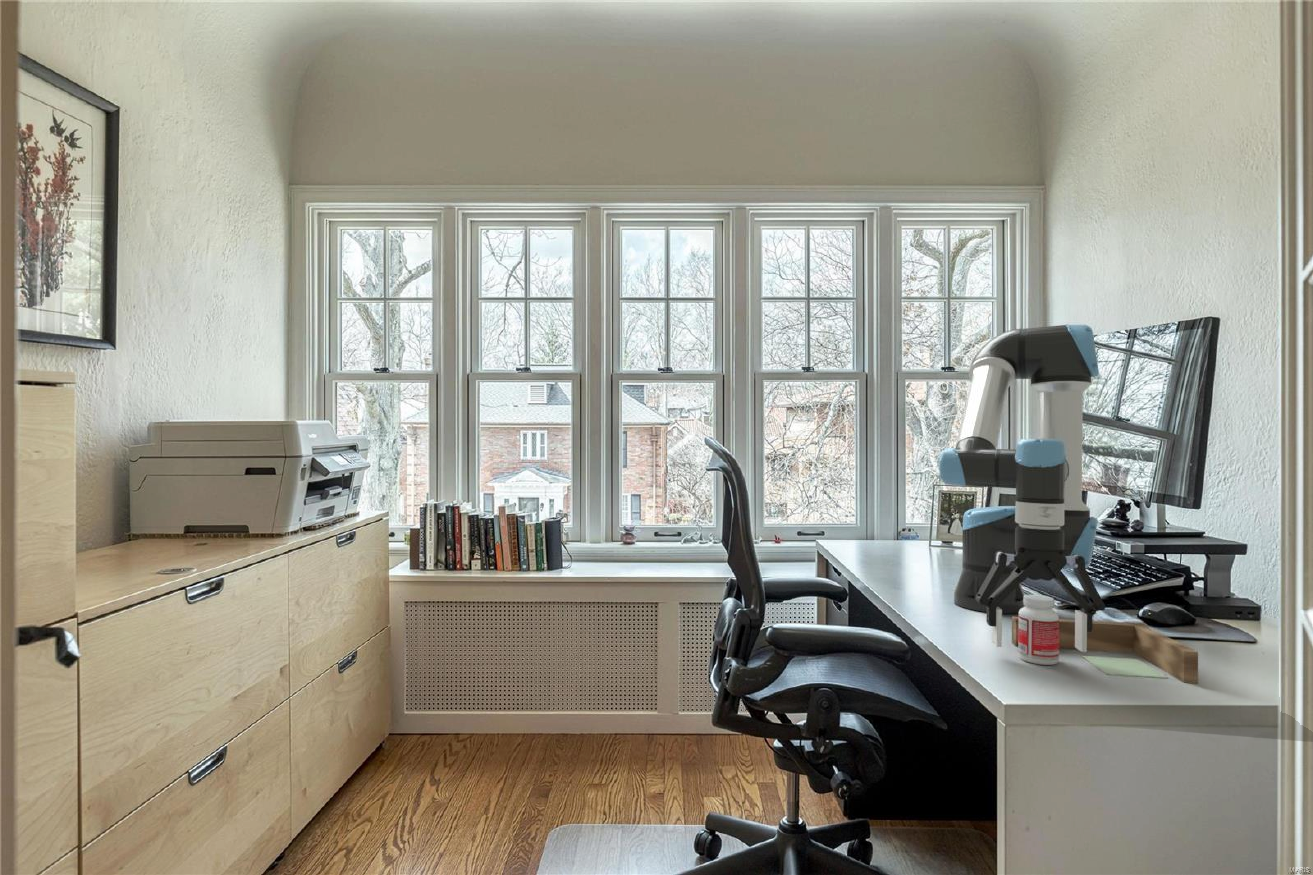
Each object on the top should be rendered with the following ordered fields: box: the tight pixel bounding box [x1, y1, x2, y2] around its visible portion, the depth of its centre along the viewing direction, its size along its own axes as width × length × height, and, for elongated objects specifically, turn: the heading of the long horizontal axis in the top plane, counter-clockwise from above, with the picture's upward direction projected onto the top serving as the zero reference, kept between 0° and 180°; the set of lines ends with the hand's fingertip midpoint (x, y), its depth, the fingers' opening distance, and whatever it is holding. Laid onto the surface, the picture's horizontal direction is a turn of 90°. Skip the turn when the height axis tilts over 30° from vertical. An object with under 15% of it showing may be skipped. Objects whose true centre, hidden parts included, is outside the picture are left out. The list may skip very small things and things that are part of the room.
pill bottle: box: [1017, 594, 1060, 666], centre depth 116 cm, size 6×6×11 cm
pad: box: [1081, 655, 1169, 679], centre depth 113 cm, size 9×9×1 cm
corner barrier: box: [1011, 616, 1199, 684], centre depth 116 cm, size 17×22×5 cm
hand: (1038, 647), depth 116 cm, fingers open, 13 cm apart
